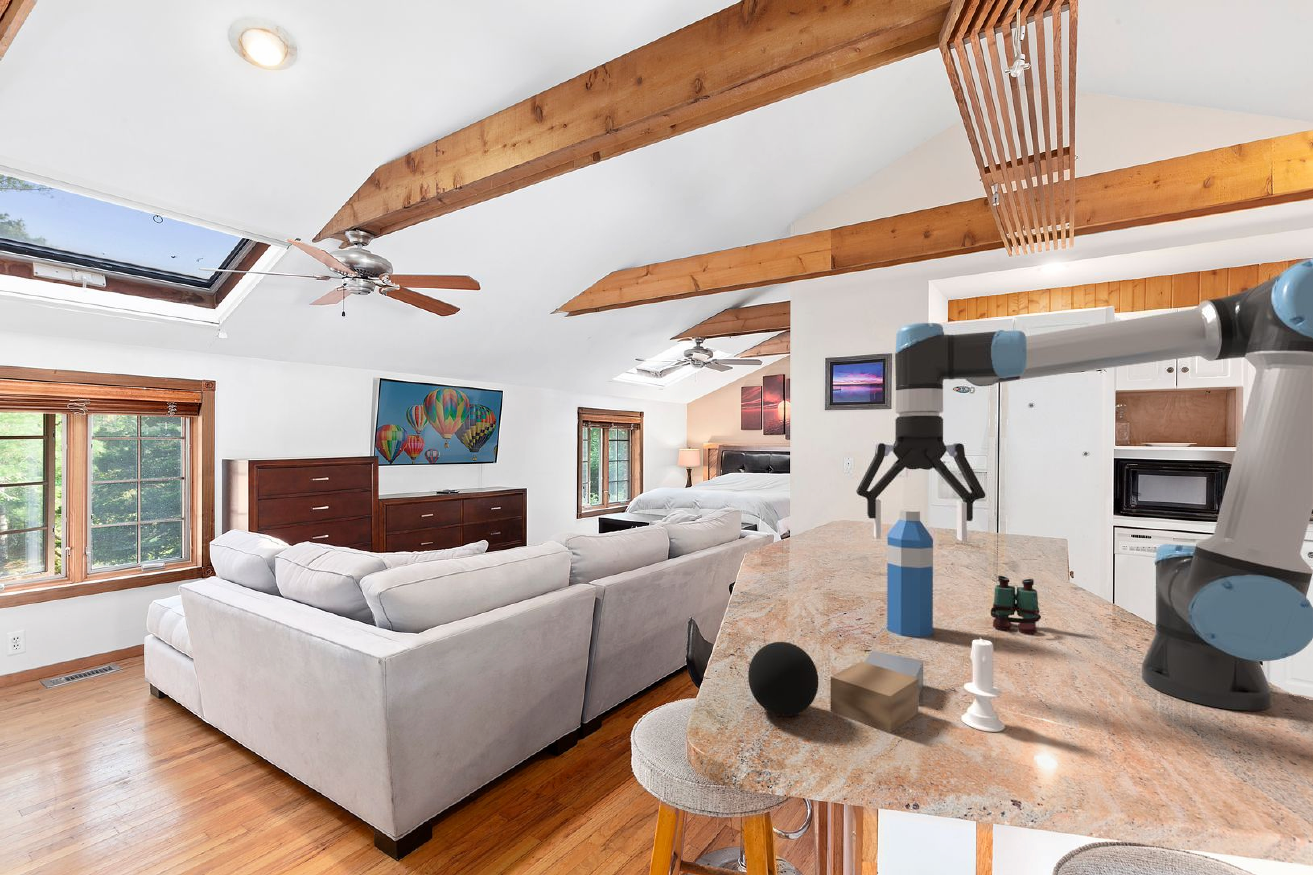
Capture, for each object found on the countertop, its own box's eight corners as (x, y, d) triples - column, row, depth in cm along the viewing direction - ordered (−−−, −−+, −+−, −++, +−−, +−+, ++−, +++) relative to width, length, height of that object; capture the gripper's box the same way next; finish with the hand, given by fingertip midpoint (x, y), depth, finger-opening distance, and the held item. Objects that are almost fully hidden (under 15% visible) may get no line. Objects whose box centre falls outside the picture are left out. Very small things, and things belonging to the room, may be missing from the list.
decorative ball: (833, 717, 85) (833, 647, 85) (781, 735, 80) (782, 661, 80) (783, 692, 94) (783, 628, 94) (734, 707, 88) (734, 639, 88)
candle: (961, 726, 83) (961, 640, 83) (961, 711, 87) (962, 629, 87) (1005, 735, 80) (1006, 646, 80) (1003, 719, 85) (1004, 635, 85)
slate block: (923, 684, 96) (923, 660, 97) (915, 703, 90) (915, 676, 90) (872, 674, 101) (872, 650, 101) (860, 691, 94) (860, 665, 94)
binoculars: (989, 585, 123) (992, 572, 131) (990, 635, 124) (992, 618, 132) (1041, 591, 118) (1040, 577, 126) (1041, 643, 119) (1040, 625, 127)
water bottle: (940, 629, 125) (940, 510, 125) (924, 640, 118) (925, 514, 118) (895, 620, 131) (895, 506, 131) (878, 630, 124) (878, 510, 124)
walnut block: (918, 712, 87) (918, 678, 87) (890, 733, 81) (890, 696, 81) (860, 693, 93) (861, 661, 93) (830, 710, 87) (830, 676, 87)
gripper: (990, 415, 103) (990, 537, 103) (841, 416, 108) (840, 532, 108) (1006, 413, 96) (1006, 545, 96) (845, 414, 101) (845, 539, 101)
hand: (918, 539), depth 102 cm, fingers open, 13 cm apart
